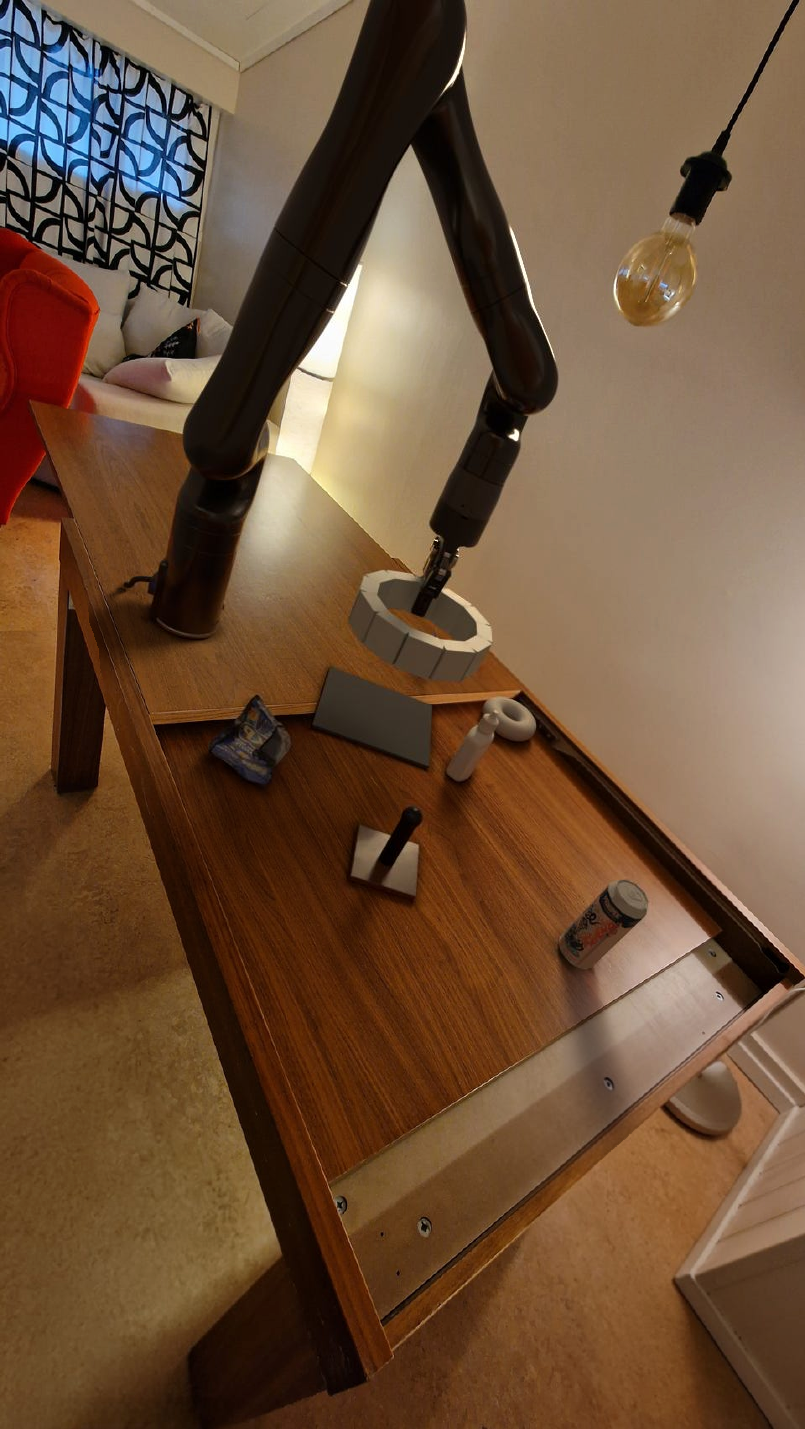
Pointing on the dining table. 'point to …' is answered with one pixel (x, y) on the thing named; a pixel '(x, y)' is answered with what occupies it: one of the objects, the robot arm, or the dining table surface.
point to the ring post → (388, 857)
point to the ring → (412, 645)
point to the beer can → (603, 923)
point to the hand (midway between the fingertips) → (417, 609)
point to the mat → (375, 717)
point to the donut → (511, 718)
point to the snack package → (253, 743)
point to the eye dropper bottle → (473, 748)
